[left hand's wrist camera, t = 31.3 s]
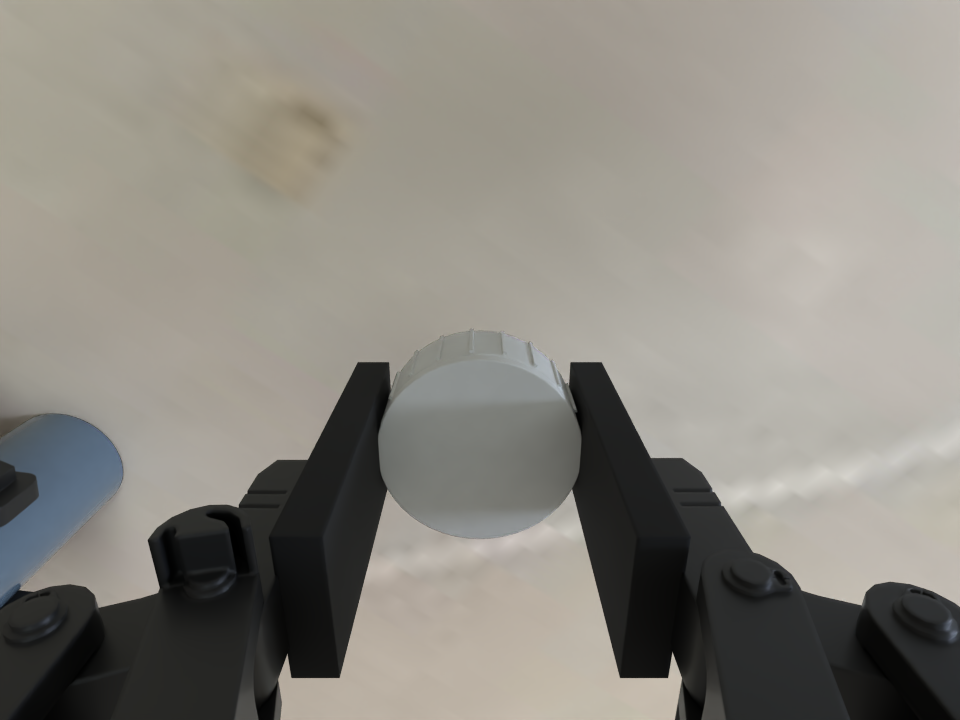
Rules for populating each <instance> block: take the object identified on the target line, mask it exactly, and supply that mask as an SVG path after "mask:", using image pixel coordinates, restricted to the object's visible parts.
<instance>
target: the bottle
mask: <svg viewBox="0 0 960 720" xmlns="http://www.w3.org/2000/svg"><path fill="white" fill-rule="evenodd" d="M0 460H1V461H3V462H6V463H8V464H10V465H13V466H15V471H18V472H26V473H32V474H34V475H35V476H36V478H37V484H38V490H39V497H38V498H37V499H36V500H35V501H34V502H33V503H32V504H30V505H29V506H28V507H27V508H26V509H25V510H23V511H22V512H21V513H20V514H19V515H17V516H16V517H15V518H14V519H13V520H11V521H10V522H9V523H8V524H6V525H4V526H2V527H0V608H1V607H2V606H3V605H4V604H5V603H6V602H7V601H8V600H9V599H10V598H11V597H12V596H13V595H14V594H15V593H16V592H17V591H18V590H19V589H20V588H21V587H22V586H23V585H24V584H25V583H26V582H27V581H28V580H29V579H30V578H31V577H32V576H33V575H34V574H35V573H36V572H37V571H38V570H39V569H40V568H41V567H42V566H43V565H44V564H45V563H46V562H47V561H48V560H49V559H50V558H51V557H52V556H53V555H54V554H55V553H56V552H57V551H58V550H59V549H60V548H61V547H62V546H63V545H64V544H65V543H66V542H67V541H68V540H69V539H70V538H71V537H72V536H73V535H74V534H75V533H76V532H77V531H78V530H79V529H80V528H81V527H82V526H83V525H84V524H85V523H86V522H87V521H88V520H89V519H90V518H91V517H92V516H93V515H94V514H95V513H96V512H97V511H98V510H99V509H100V508H101V507H102V506H103V505H104V504H105V503H106V502H107V501H108V500H109V499H110V498H111V497H112V496H113V495H114V494H115V493H116V492H117V490H118V489H119V487H120V485H121V481H122V476H123V467H122V462H121V459H120V456H119V454H118V452H117V450H116V448H115V447H114V445H113V444H112V442H111V441H110V440H109V439H108V438H107V437H106V436H105V435H104V434H103V433H102V432H101V431H99V430H98V429H97V428H95V427H94V426H92V425H91V424H89V423H87V422H85V421H83V420H81V419H78V418H76V417H72V416H68V415H63V414H44V415H39V416H36V417H33V418H31V419H29V420H27V421H26V422H24V423H23V424H21V425H19V426H18V427H16V428H15V429H13V430H12V431H10V432H9V433H7V434H6V435H4V436H2V437H1V438H0Z"/></svg>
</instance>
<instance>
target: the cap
mask: <svg viewBox="0 0 960 720" xmlns="http://www.w3.org/2000/svg"><path fill="white" fill-rule="evenodd" d="M388 399H389V400H388V403H387V406H386V409H385V412H384V415H383V418H382V421H381V425H380V429H379V432H378V446H379V460H380V472H381V476H382V478H383V480H384V483H385V485H386V487H387V489H388V490H389V492H390V493H391V495H392V496H393V498H394V499H395V500H396V502H397V503H398V504H399V505H400V506H401V507H402V508H403V509H404V510H405V511H406V512H407V513H408V514H409V515H410V516H412V517H413V518H415V519H416V520H418V521H419V522H420V523H422V524H424V525H426V526H428V527H430V528H432V529H434V530H437V531H439V532H442V533H445V534H448V535H452V536H456V537H462V538H472V539H488V538H497V537H503V536H507V535H511V534H515V533H518V532H520V531H523V530H525V529H528V528H530V527H532V526H534V525H535V524H537V523H539V522H541V521H542V520H543V519H545V518H546V517H548V516H549V515H550V514H551V513H552V512H554V511H555V510H556V509H557V508H558V507H559V506H560V505H561V503H562V502H563V501H564V500H565V499H566V497H567V496H568V494H569V493H570V491H571V490H572V488H573V486H574V484H575V482H576V479H577V477H578V474H579V468H580V454H581V439H582V436H581V430H580V427H579V424H578V421H577V417H576V414H575V412H577V409H576V406H575V403H574V400H573V397H572V394H571V391H570V388H569V385H568V383H566V384H565V382H564V380H563V378H562V376H561V374H560V373H559V371H558V370H557V368H556V365H555V362H554V361H553V360H551V361H550V360H549V359H548V358H547V357H546V356H545V355H544V354H543V353H542V352H540V351H539V350H538V349H537V348H535V347H534V346H533V344H532V343H531V342H529V343H527V342H525V341H523V340H521V339H519V338H516V337H513V336H510V335H507V334H505V333H504V331H501V333H500V332H493V331H474V329H470V331H466V332H461V333H456V334H452V335H449V336H446V337H444V336H440V339H439V340H437V341H435V342H432V343H431V344H429V345H428V346H426V347H424V348H423V349H421V350H420V351H418V350H417V351H415V353H414V356H413V357H412V358H411V359H410V360H409V362H408V363H407V364H406V365H405V366H404V368H403V369H402V371H401V372H397V374H396V377H395V380H394V383H393V386H392V389H391V392H390V395H389V398H388Z"/></svg>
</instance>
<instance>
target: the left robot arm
mask: <svg viewBox="0 0 960 720" xmlns="http://www.w3.org/2000/svg"><path fill="white" fill-rule="evenodd" d="M569 388H570V391H571V394H572V397H573V400H574V403H575V406H576V409H577V412H575V414H576V417H577V421H578V424H579V427H580V430H581V436H582V439H581V454H580V468H579V474H578V477H577V479H576V482H575V484H574V486H573V488H572V490H573V494H574V498H575V502H576V506H577V510H578V514H579V518H580V521H581V525H582V529H583V533H584V537H585V541H586V545H587V549H588V553H589V557H590V561H591V565H592V569H593V573H594V577H595V581H596V585H597V589H598V593H599V597H600V600H601V604H602V608H603V612H604V616H605V620H606V624H607V628H608V632H609V636H610V640H611V644H612V648H613V652H614V656H615V660H616V664H617V668H618V672H619V675H620V678H668V675H669V669H670V663H671V657H672V652H673V654H674V657H675V660H676V662H677V665H678V668H679V671H680V673H681V676H682V682H681V688H680V694H679V699H678V705H677V711H676V716H675V720H960V607H959V606H958V605H956V604H955V603H953V602H951V601H950V600H948V599H946V598H944V597H942V596H940V595H938V594H936V593H934V592H932V591H929V590H926V589H924V588H920V587H917V586H914V585H911V584H904V583H895V582H887V583H881V584H876V585H874V586H873V587H871V588H870V589H869V590H868V591H867V592H866V594H865V597H864V600H863V603H862V606H861V605H857V604H852V603H848V602H844V601H839V600H835V599H830V598H826V597H822V596H818V595H814V594H811V593H808V592H804V591H802V590H801V588H800V587H799V585H798V583H797V582H796V580H795V579H794V577H793V576H792V574H790V573H789V572H788V571H787V570H786V569H784V568H783V567H782V566H781V565H779V564H778V563H777V562H775V561H772V560H770V559H768V558H766V557H764V556H762V555H760V554H757V553H753V552H752V550H751V549H750V547H749V546H748V544H747V543H746V541H745V539H744V538H743V536H742V535H741V533H740V532H739V530H738V528H737V527H736V525H735V524H734V522H733V521H732V519H731V517H730V516H729V514H728V513H727V511H726V510H725V508H724V507H723V506H721V502H720V500H719V499H718V497H717V496H716V494H715V492H712V488H711V486H710V485H709V483H708V481H707V480H706V478H705V477H704V475H703V474H702V472H700V471H699V470H698V469H696V468H695V467H694V466H692V465H691V464H690V463H688V462H687V461H685V460H684V459H683V458H650V456H649V454H648V452H647V450H646V448H645V446H644V444H643V442H642V440H641V438H640V436H639V434H638V432H637V431H636V429H635V427H634V425H633V423H632V421H631V419H630V417H629V415H628V413H627V411H626V409H625V407H624V405H623V403H622V401H621V399H620V397H619V395H618V393H617V391H616V390H615V388H614V386H613V384H612V382H611V380H610V378H609V376H608V374H607V372H606V370H605V368H604V366H603V364H602V362H571V364H570V380H569ZM390 392H391V387H390V370H389V362H358V363H357V365H356V367H355V369H354V371H353V373H352V375H351V377H350V379H349V381H348V383H347V385H346V387H345V389H344V391H343V393H342V395H341V397H340V398H339V400H338V402H337V404H336V406H335V408H334V410H333V412H332V414H331V416H330V418H329V420H328V422H327V424H326V426H325V428H324V430H323V432H322V434H321V436H320V438H319V439H318V441H317V443H316V445H315V447H314V449H313V451H312V453H311V455H310V457H309V459H308V460H277V461H276V462H274V463H273V464H271V465H270V466H269V467H267V468H266V469H265V470H263V471H262V472H261V473H259V474H258V475H257V477H256V478H255V480H254V482H253V483H252V485H251V486H250V488H249V490H248V493H247V494H245V496H244V497H243V499H242V501H241V502H240V504H239V508H237V507H233V506H230V505H208V506H203V507H199V508H194V509H190V510H188V511H185V512H183V513H181V514H179V515H176V516H174V517H172V518H170V519H169V520H167V521H166V522H165V523H163V524H162V525H160V526H159V527H158V528H157V529H156V530H155V531H154V533H153V534H152V535H151V537H150V538H149V539H148V543H149V547H150V551H151V555H152V559H153V563H154V567H155V570H156V574H157V578H158V582H159V586H160V589H159V592H158V593H157V594H154V595H150V596H147V597H144V598H140V599H136V600H131V601H127V602H123V603H118V604H114V605H109V606H105V607H101V608H98V605H97V602H96V598H95V595H94V594H93V593H92V592H91V591H89V590H88V589H87V588H86V587H82V586H76V585H71V584H70V585H61V586H53V587H48V588H45V589H42V590H39V591H36V592H33V593H30V594H27V595H25V596H23V597H21V598H20V599H18V600H16V601H14V602H12V603H10V604H8V605H6V606H5V607H4V608H2V609H1V610H0V720H280V717H281V706H282V701H281V694H280V688H279V682H278V678H279V675H280V673H281V670H282V667H283V664H284V662H285V659H286V656H287V653H288V659H289V665H290V671H291V678H340V674H341V670H342V666H343V662H344V658H345V654H346V650H347V646H348V642H349V638H350V635H351V631H352V627H353V623H354V619H355V615H356V611H357V607H358V603H359V599H360V595H361V591H362V587H363V583H364V579H365V575H366V571H367V567H368V563H369V560H370V556H371V552H372V548H373V544H374V540H375V536H376V532H377V528H378V524H379V520H380V516H381V512H382V508H383V504H384V500H385V496H386V492H387V487H386V485H385V483H384V480H383V478H382V476H381V472H380V460H379V446H378V432H379V429H380V425H381V421H382V418H383V415H384V412H385V409H386V406H387V403H388V400H389V399H388V398H389V395H390Z"/></svg>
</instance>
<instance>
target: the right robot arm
mask: <svg viewBox="0 0 960 720" xmlns="http://www.w3.org/2000/svg"><path fill="white" fill-rule="evenodd" d="M38 497H39V490H38V484H37V478H36V476H35V475H34V474H32V473H26V472H18V471H15V466H13V465H10V464H8V463H6V462H3V461H1V460H0V527H2V526H4V525H6V524H8V523H9V522H10V521H11V520H13V519H14V518H15V517H16V516H17V515H19V514H20V513H21V512H22V511H23V510H25V509H26V508H27V507H28V506H29V505H30V504H32V503H33V502H34V501H35V500H36V499H37V498H38ZM30 593H33V592H28V591H20V590H18V591H17V592H16V593H15V594H14V595H13V596H12V597H11V598H10V599H9V600H8V601H7V602H6V603H5V604H4V605H3V606H2V607H1V608H0V610H1V609H2V608H4V607H5V606H6V605H8V604H10V603H12V602H14V601H16V600H18V599H20V598H21V597H23V596H25V595H27V594H30Z"/></svg>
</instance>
